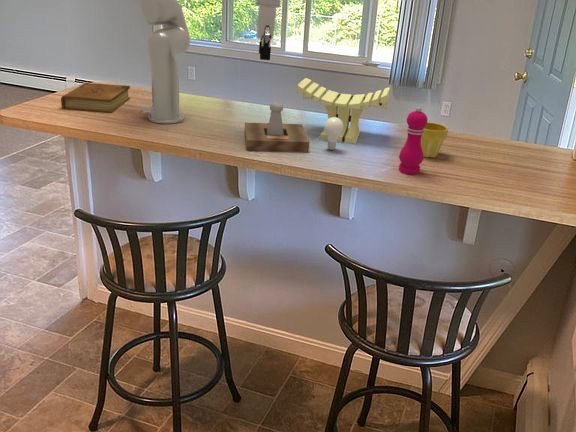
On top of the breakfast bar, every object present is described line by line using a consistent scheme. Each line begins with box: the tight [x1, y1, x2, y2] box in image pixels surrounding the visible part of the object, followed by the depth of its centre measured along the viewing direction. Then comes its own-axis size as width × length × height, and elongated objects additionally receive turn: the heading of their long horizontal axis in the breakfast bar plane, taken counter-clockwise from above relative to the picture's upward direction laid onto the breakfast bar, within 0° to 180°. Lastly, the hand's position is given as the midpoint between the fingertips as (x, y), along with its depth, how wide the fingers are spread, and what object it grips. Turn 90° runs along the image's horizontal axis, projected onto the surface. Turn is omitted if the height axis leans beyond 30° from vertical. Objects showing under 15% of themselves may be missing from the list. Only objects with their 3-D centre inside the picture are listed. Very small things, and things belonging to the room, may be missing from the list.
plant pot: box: [421, 121, 449, 158], centre depth 189 cm, size 10×10×10 cm
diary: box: [60, 82, 132, 114], centre depth 222 cm, size 23×19×6 cm
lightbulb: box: [323, 117, 344, 151], centre depth 187 cm, size 6×6×11 cm
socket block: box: [244, 122, 310, 153], centre depth 192 cm, size 20×20×4 cm
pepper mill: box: [398, 106, 429, 175], centre depth 171 cm, size 7×7×20 cm
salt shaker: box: [267, 102, 284, 135], centre depth 191 cm, size 6×6×13 cm
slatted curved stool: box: [296, 77, 391, 144], centre depth 201 cm, size 30×16×18 cm, turn 76°
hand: (264, 56), depth 187 cm, fingers open, 9 cm apart
